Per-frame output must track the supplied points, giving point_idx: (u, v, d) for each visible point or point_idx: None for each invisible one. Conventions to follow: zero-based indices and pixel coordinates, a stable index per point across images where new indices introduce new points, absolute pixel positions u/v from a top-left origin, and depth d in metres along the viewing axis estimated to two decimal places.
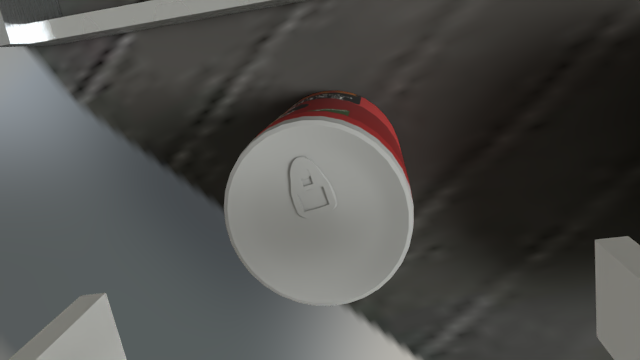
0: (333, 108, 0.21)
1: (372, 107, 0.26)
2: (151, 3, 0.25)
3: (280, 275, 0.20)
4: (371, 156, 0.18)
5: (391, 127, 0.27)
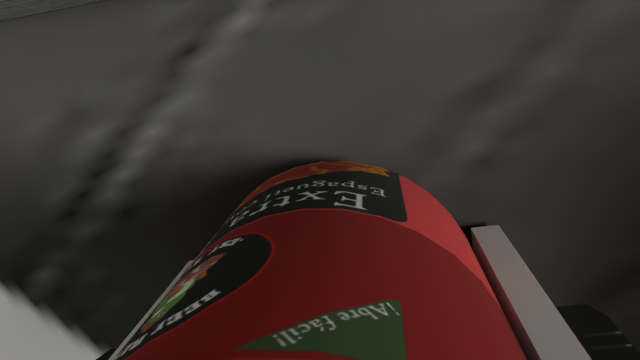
0: (346, 302, 0.06)
1: (429, 208, 0.11)
2: None
3: None
4: None
5: (470, 249, 0.12)
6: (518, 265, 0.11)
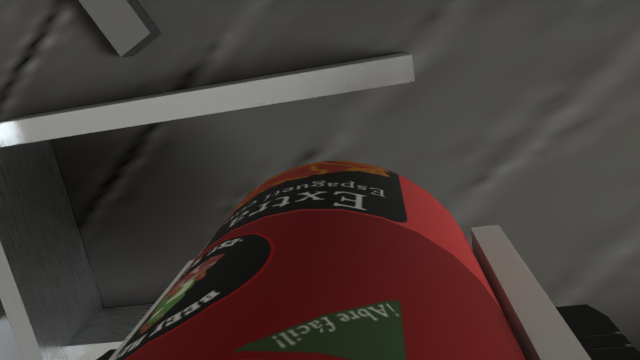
0: (345, 303, 0.06)
1: (429, 209, 0.11)
2: None
3: None
4: None
5: (470, 249, 0.12)
6: (518, 265, 0.11)
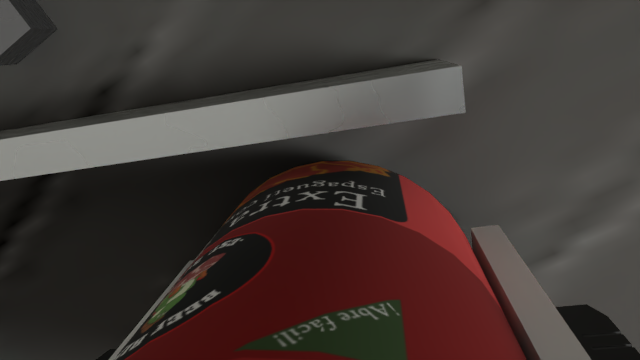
0: (346, 302, 0.06)
1: (429, 208, 0.11)
2: None
3: None
4: None
5: (470, 249, 0.12)
6: (518, 265, 0.11)
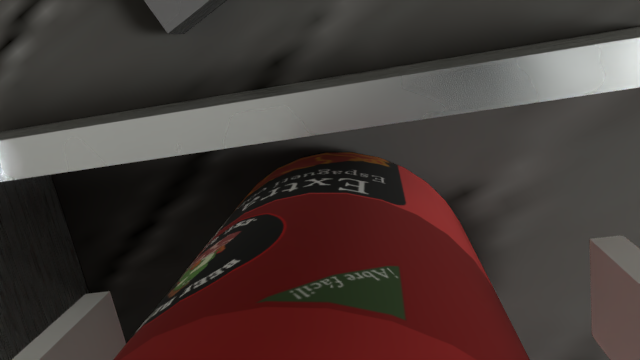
0: (351, 267, 0.07)
1: (426, 195, 0.12)
2: None
3: None
4: None
5: (464, 234, 0.13)
6: None
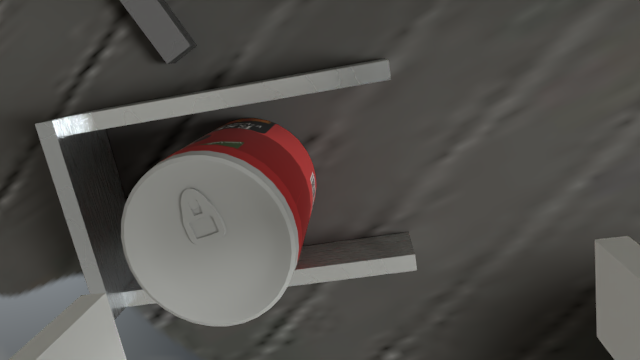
0: (227, 140, 0.22)
1: (282, 134, 0.28)
2: None
3: (178, 298, 0.22)
4: (252, 187, 0.20)
5: (302, 152, 0.28)
6: None
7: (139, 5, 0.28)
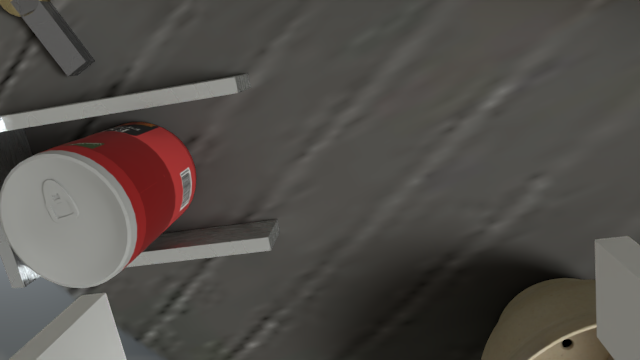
0: (90, 142, 0.28)
1: (158, 136, 0.33)
2: None
3: (47, 265, 0.28)
4: (94, 179, 0.26)
5: (177, 151, 0.34)
6: None
7: (43, 28, 0.34)
